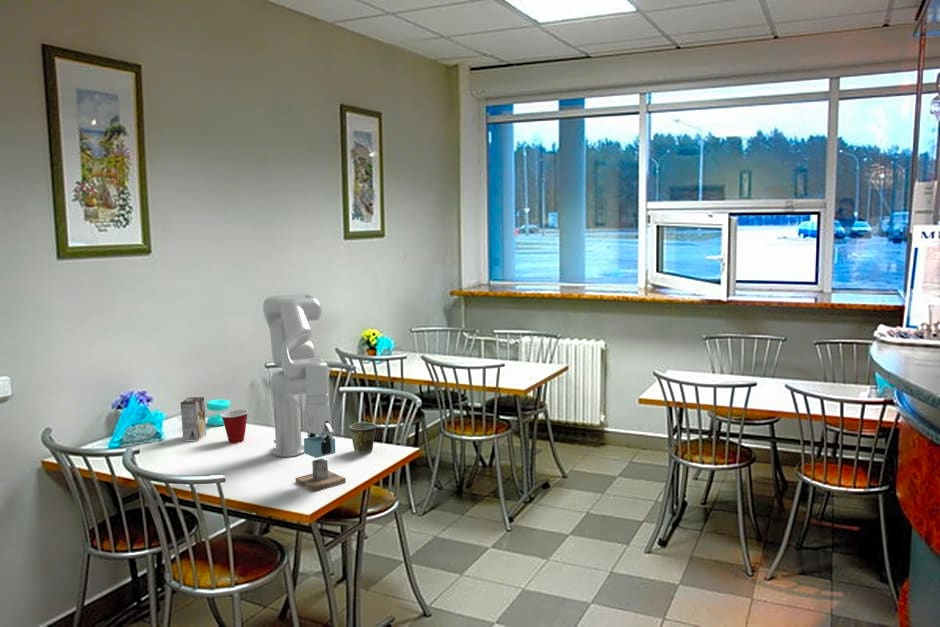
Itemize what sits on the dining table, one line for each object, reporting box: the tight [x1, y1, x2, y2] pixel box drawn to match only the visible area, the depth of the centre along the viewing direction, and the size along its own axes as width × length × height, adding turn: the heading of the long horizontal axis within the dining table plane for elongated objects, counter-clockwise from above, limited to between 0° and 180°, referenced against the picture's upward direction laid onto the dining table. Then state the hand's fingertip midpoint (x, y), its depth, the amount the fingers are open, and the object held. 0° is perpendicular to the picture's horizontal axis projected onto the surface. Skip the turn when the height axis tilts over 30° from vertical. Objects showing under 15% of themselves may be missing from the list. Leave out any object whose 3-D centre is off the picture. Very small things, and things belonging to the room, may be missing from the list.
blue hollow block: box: [303, 435, 336, 459], centre depth 250 cm, size 7×7×5 cm
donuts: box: [205, 398, 231, 427], centre depth 326 cm, size 10×10×10 cm
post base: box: [295, 457, 347, 492], centre depth 252 cm, size 12×12×8 cm
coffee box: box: [180, 396, 207, 441], centre depth 304 cm, size 9×6×16 cm
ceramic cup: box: [349, 421, 377, 455], centre depth 283 cm, size 13×10×10 cm
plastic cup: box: [220, 409, 249, 444], centre depth 299 cm, size 11×11×12 cm
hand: (319, 450), depth 250 cm, fingers closed on blue hollow block, 7 cm apart
